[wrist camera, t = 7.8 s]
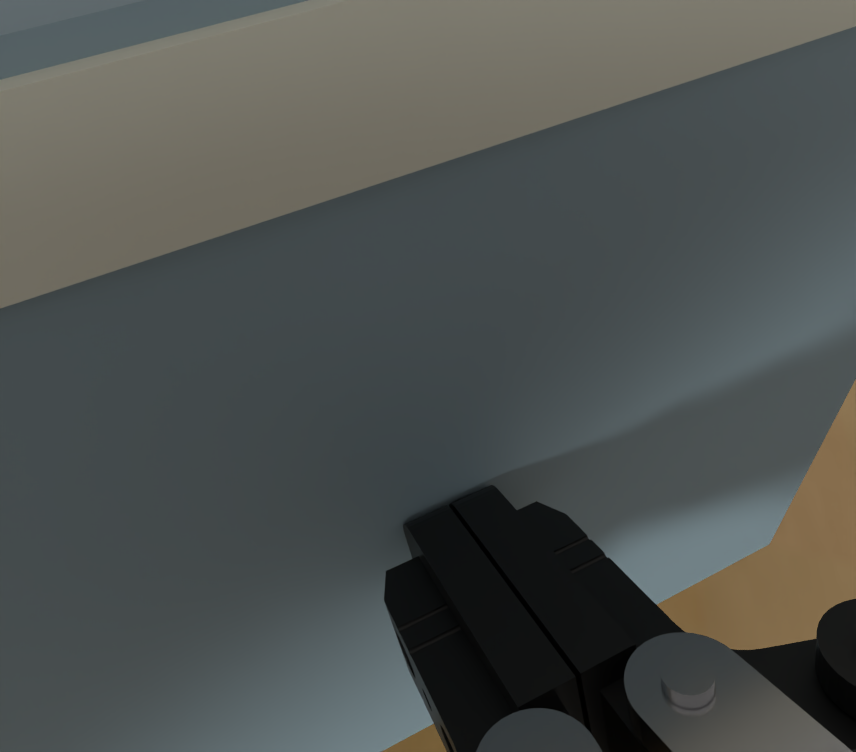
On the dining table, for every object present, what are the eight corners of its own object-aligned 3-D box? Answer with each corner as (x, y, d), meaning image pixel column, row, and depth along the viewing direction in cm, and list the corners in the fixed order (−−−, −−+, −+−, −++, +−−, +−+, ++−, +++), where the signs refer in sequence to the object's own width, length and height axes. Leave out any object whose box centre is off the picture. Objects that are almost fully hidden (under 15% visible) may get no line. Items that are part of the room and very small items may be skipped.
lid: (742, 515, 19) (774, 550, 19) (77, 858, 15) (84, 921, 15) (1085, -260, 8) (1207, -253, 7) (-1317, 290, 4) (-1661, 455, 3)
